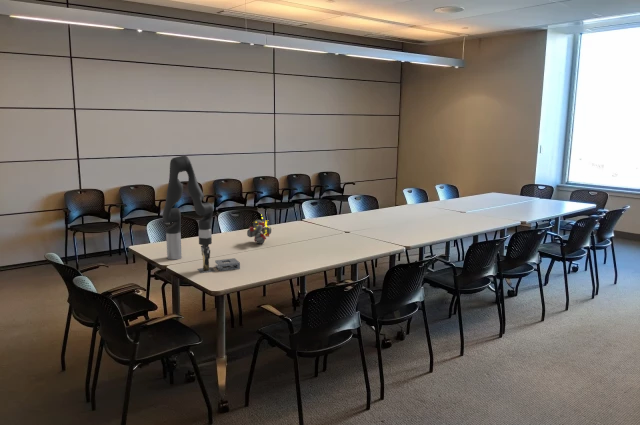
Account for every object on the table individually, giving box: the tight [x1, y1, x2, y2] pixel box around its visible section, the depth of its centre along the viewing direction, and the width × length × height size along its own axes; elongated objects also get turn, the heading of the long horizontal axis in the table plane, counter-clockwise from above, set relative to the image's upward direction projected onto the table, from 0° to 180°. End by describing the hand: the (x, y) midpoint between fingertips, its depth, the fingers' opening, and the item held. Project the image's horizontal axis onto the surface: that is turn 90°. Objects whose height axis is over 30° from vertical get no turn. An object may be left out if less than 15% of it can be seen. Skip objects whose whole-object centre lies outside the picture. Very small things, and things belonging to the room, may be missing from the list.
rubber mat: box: [196, 266, 216, 274], centre depth 305 cm, size 10×9×1 cm
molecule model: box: [246, 214, 274, 245], centre depth 373 cm, size 25×21×23 cm
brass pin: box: [202, 253, 210, 271], centre depth 304 cm, size 4×4×11 cm
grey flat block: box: [214, 258, 241, 272], centre depth 310 cm, size 11×12×4 cm
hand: (206, 263), depth 304 cm, fingers closed on brass pin, 3 cm apart
